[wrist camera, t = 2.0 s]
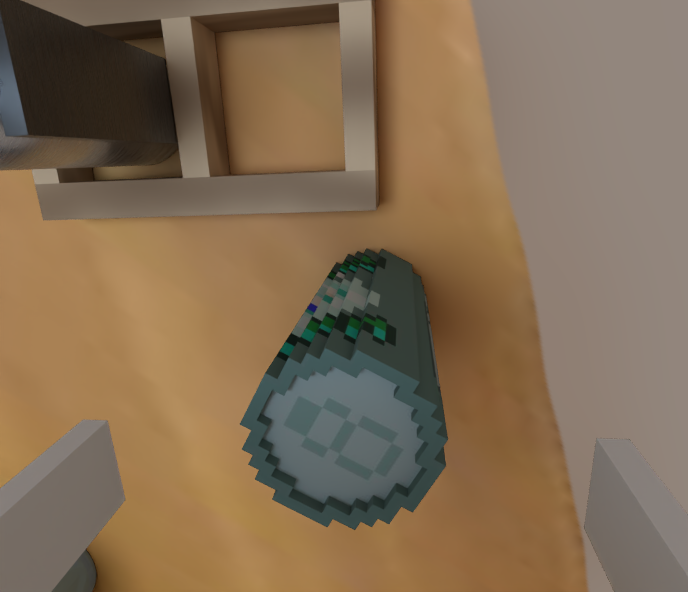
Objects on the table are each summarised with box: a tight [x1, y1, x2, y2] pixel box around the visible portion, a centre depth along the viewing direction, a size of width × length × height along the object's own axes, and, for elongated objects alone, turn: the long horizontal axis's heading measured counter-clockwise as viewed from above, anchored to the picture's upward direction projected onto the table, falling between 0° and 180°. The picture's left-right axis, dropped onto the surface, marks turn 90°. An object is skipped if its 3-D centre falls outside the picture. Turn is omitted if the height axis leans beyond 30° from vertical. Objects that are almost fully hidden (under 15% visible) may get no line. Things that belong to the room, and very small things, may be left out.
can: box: [240, 248, 448, 530], centre depth 21 cm, size 6×6×15 cm
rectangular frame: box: [22, 0, 379, 220], centre depth 25 cm, size 12×19×3 cm, turn 92°
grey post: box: [0, 0, 179, 170], centre depth 20 cm, size 6×7×15 cm
